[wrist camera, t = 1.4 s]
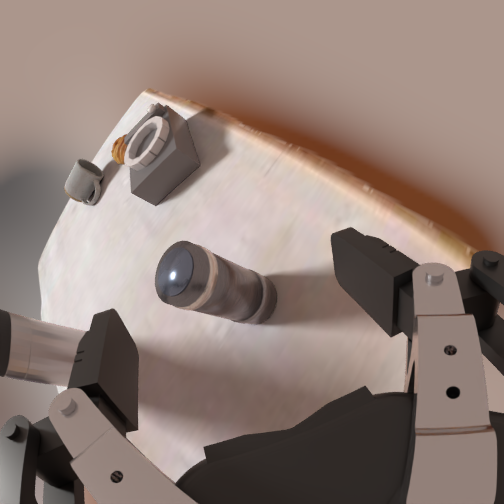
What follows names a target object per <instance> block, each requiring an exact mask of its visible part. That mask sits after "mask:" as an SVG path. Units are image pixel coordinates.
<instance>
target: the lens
mask: <svg viewBox="0 0 504 504" xmlns="http://www.w3.org/2000/svg"><path fill="white" fill-rule="evenodd" d="M155 287H156V291H157V294H158V296H159V298H160V299H161V300H162V301H163V302H165V303H167V304H170V305H173V306H175V307H177V308H180V309H184V310H193V311H197V312H201V313H205V314H209V315H213V316H217V317H221V318H226V319H230V320H232V321H234V322H238V323H243V324H260V323H262V322H264V321H266V320H267V319H268V318H269V317H270V316H271V314H272V313H273V311H274V309H275V307H276V303H277V293H276V289H275V287H274V285H273V283H272V282H271V281H270V280H269V279H267V278H265V277H263V276H262V275H260V274H259V273H257V272H254V271H252V270H249V269H246V268H243V267H241V266H239V265H237V264H235V263H233V262H231V261H228V260H226V259H224V258H222V257H220V256H218V255H216V254H214V253H212V252H211V251H209V250H208V249H206V248H204V247H202V246H200V245H196V244H193V243H191V242H188V241H179V242H177V243H175V244H173V245H172V246H170V247H169V248H168V249H167V250H166V252H165V253H164V254H163V256H162V258H161V259H160V261H159V264H158V267H157V270H156V276H155Z"/></svg>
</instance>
